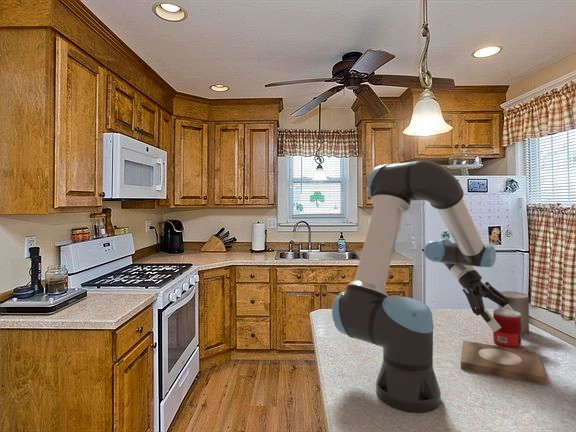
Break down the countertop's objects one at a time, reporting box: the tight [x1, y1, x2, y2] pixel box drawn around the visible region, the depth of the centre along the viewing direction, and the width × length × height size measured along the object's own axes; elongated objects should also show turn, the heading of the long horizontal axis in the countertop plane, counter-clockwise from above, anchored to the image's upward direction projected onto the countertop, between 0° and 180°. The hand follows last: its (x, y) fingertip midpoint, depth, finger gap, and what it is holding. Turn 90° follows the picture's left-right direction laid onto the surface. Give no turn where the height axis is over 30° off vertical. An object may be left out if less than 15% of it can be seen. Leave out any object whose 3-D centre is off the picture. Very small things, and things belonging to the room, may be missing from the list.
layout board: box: [460, 340, 547, 386], centre depth 103 cm, size 20×18×2 cm
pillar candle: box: [497, 290, 530, 335], centre depth 130 cm, size 10×10×15 cm
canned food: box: [492, 308, 522, 349], centre depth 117 cm, size 8×8×11 cm
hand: (508, 326), depth 117 cm, fingers open, 13 cm apart
